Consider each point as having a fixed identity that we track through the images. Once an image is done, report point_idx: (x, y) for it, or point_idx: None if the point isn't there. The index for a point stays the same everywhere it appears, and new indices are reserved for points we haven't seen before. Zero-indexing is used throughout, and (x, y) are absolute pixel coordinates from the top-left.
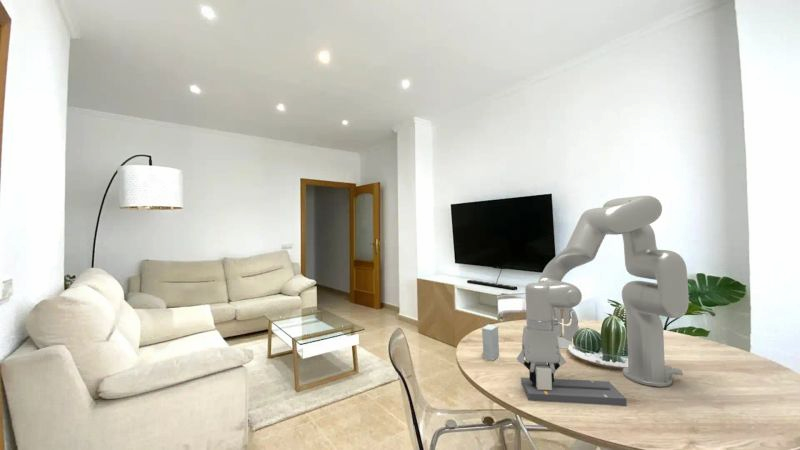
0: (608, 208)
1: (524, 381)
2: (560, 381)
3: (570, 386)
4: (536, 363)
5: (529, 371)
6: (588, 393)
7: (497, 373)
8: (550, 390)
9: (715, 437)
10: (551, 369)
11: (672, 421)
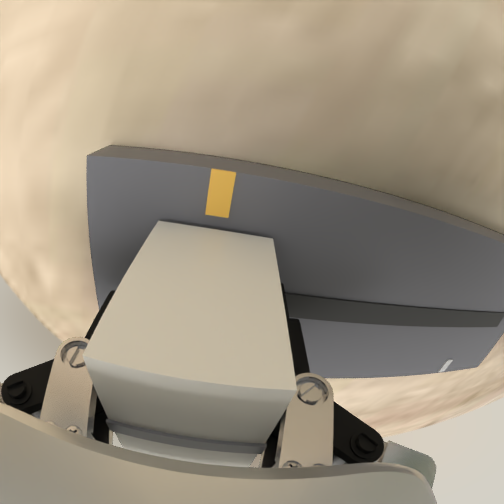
0: None
1: (97, 226)
2: (382, 246)
3: (388, 312)
4: (138, 413)
5: (88, 338)
6: (410, 357)
7: (21, 23)
8: None
9: (471, 406)
10: (269, 445)
11: (473, 385)
